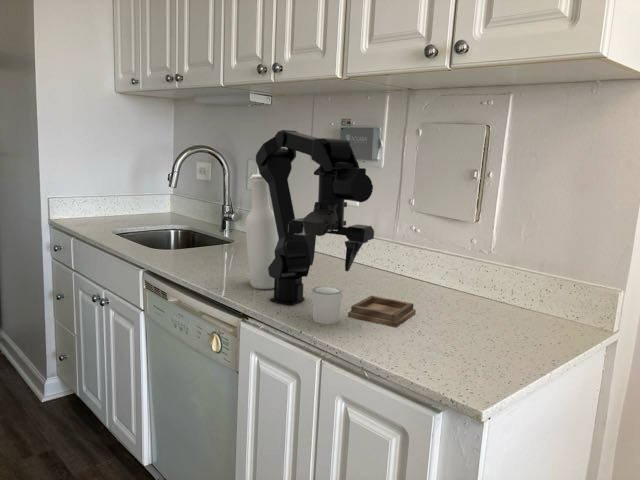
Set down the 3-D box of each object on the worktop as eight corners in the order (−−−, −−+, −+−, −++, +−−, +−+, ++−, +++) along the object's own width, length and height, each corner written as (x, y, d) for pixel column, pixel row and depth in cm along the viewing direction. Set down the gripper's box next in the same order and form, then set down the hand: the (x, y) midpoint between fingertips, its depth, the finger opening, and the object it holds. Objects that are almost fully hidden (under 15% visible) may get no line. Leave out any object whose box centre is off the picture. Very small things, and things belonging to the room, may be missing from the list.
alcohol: (287, 285, 143) (281, 174, 137) (257, 291, 139) (249, 177, 133) (274, 278, 151) (267, 172, 144) (245, 283, 146) (237, 175, 140)
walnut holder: (347, 316, 122) (348, 306, 122) (369, 304, 132) (370, 294, 132) (396, 327, 116) (397, 316, 116) (415, 313, 126) (416, 303, 126)
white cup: (323, 313, 124) (324, 284, 123) (347, 320, 120) (348, 290, 118) (304, 319, 119) (305, 289, 117) (328, 327, 114) (329, 296, 113)
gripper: (274, 196, 112) (272, 268, 115) (353, 203, 103) (350, 281, 106) (302, 193, 122) (300, 260, 124) (376, 200, 113) (372, 271, 115)
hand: (328, 268), depth 117 cm, fingers open, 9 cm apart
